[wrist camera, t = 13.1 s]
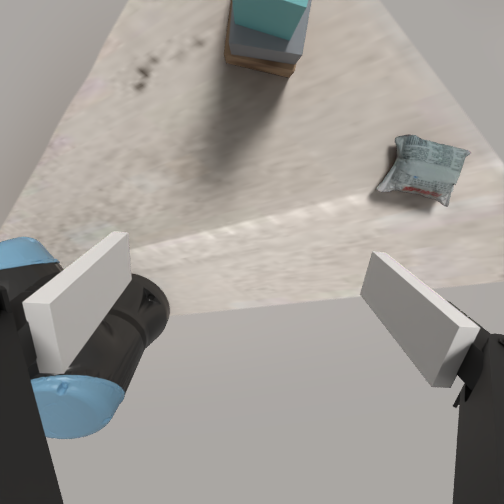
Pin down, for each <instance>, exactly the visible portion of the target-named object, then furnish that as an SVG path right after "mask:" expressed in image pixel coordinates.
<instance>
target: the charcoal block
mask: <svg viewBox="0 0 504 504" xmlns="http://www.w3.org/2000/svg"><path fill="white" fill-rule="evenodd" d="M311 1H312V0H308V3H307V7H306V9H305V11H304V13H303V15H302V17H301V19H300V21H299V23H298V25H297V27H296V29H295V31H294V33H293V35H292V37H291V39H290V41H289V40H286V39H282V38H279V37H276V36H273V35H270V34H266V33H263V32H260V31H257V30H253V29H250V28H247V27H244V26H240V25H237V24H235V21H234V11H233V1H232V11H231V23H230V35H229V46H230V51H231V54H233V55H239V56H245V57H251V58H257V59H263V60H269V61H275V62H281V63H287V64H294V65H295V64H296V63H297V61H298V60H299V59H300V57H301V56H302V53H303V47H304V42H305V36H306V30H307V24H308V18H309V12H310V7H311Z"/></svg>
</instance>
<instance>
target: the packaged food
mask: <svg viewBox="0 0 504 504" xmlns="http://www.w3.org/2000/svg"><path fill="white" fill-rule="evenodd" d="M395 143H396V145H397V158H396V161H395V163H394V165H393V167H392V168H391V170H390V171H389V172H388V174H387V175H386V177H385V178H384V180H383V182H382V183H380V184H379V186H377V188H376V190H377V191H379V192H390V191H393V190H398V191H402V192H407V193H413V194H420V195H423V196H424V197H428V198H431V199H435V200H437V201H438V202H440V203H441V204H442V205H444V206H446V207H448V205H449V199H450V197H451V192H453V188H454V184H455V185H456V183H457V180H458V178H459V175H460V172H461V169H462V166H463V163H464V160H465V157H467V156H468V155H469V154H471V152H470V151H468V150H465V149H461V148H456V147H453V146H449V145H444V144H438V143H436V142H431V141H427V140H423V139H421V138H419V137H418V136H416V135H403V136H399V137H396V138H395Z"/></svg>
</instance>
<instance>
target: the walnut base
mask: <svg viewBox="0 0 504 504" xmlns="http://www.w3.org/2000/svg"><path fill="white" fill-rule="evenodd" d="M231 11H232V0H231V4H230V11H229V19H228V26H227V34H226V42H225V49H224V57H225V60H226V63H229V64H233V65H237V66H241V67H245V68H250V69H254V70H258V71H262V72H267V73H271V74H275V75H279V76H284V77H288V78H289V77H290V76H291V75H292V74H293V73H294V71H295V67H296V64H295V65H294V64H287V63H281V62H275V61H269V60H263V59H257V58H251V57H245V56H239V55H233V54H231V51H230V46H229V35H230V23H231Z"/></svg>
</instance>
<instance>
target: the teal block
mask: <svg viewBox="0 0 504 504" xmlns="http://www.w3.org/2000/svg"><path fill="white" fill-rule="evenodd" d="M232 1H233V11H234V21H235V24H237V25H240V26H244V27H247V28H250V29H253V30H257V31H260V32H263V33H266V34H270V35H273V36H276V37H279V38H282V39H286V40H289V41H290V39H291V37H292V35H293V33H294V31H295V29H296V27H297V25H298V23H299V21H300V19H301V17H302V15H303V13H304V11H305V9H306V7H307V3H308V0H232Z"/></svg>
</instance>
